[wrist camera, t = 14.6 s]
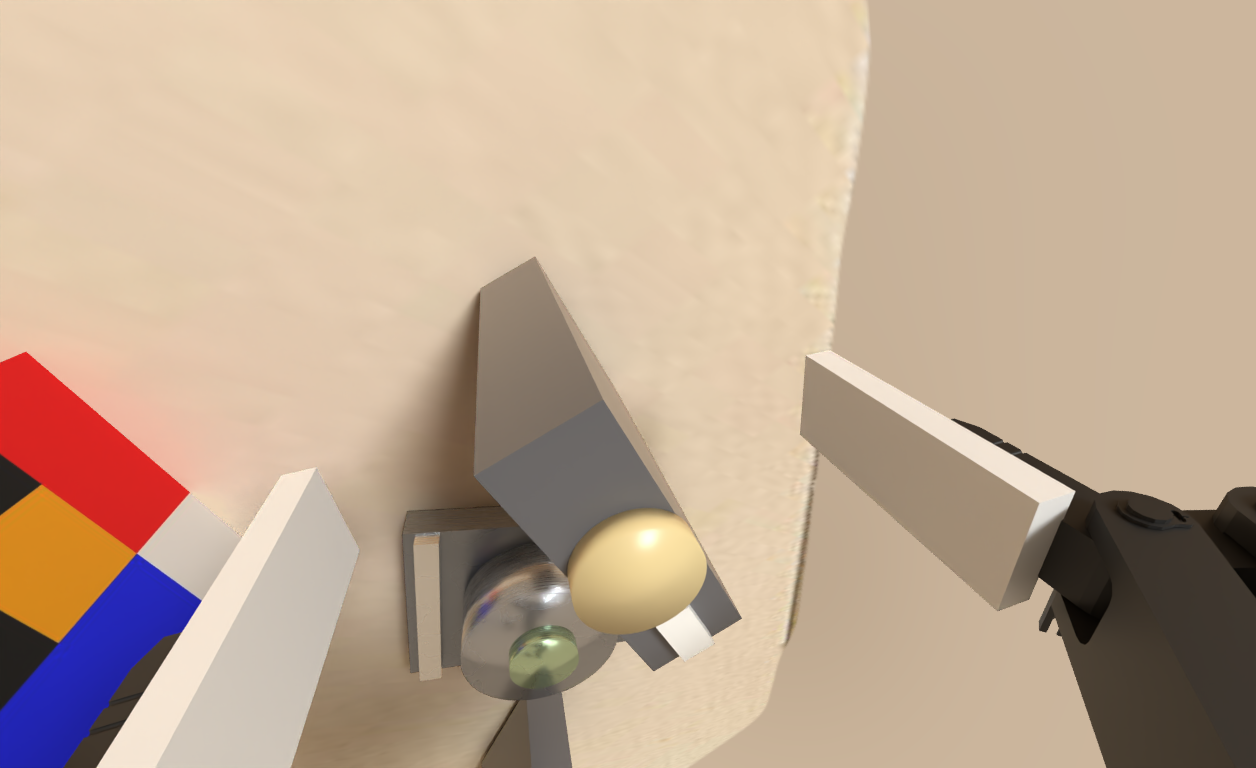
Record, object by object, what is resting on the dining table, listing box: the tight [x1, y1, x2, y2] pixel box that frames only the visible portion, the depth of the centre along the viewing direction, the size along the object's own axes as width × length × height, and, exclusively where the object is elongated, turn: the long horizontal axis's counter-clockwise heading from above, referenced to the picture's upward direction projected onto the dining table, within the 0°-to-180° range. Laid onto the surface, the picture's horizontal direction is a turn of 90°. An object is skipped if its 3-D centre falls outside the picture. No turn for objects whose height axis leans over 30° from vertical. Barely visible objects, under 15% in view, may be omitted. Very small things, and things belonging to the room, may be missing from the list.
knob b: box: [474, 257, 742, 671], centre depth 14 cm, size 7×3×13 cm, turn 26°
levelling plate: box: [402, 506, 625, 700], centre depth 23 cm, size 12×9×5 cm
